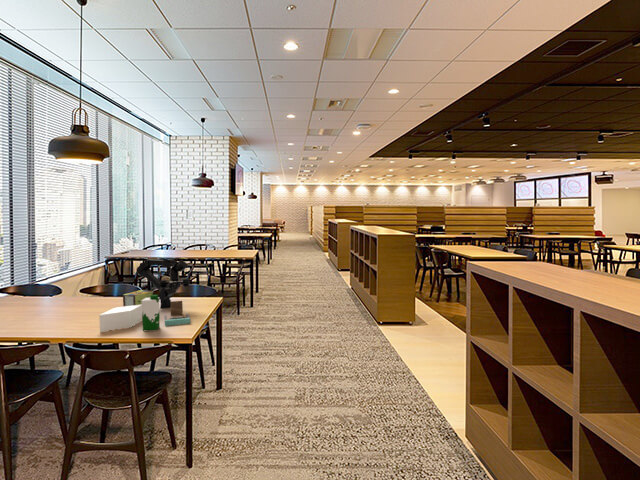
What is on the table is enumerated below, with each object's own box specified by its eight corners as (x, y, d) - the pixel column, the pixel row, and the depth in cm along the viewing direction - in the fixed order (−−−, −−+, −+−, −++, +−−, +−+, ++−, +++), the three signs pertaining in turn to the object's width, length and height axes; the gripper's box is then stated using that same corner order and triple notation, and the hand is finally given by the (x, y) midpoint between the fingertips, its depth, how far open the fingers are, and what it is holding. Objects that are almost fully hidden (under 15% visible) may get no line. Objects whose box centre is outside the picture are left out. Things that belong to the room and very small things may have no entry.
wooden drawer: (170, 318, 254) (169, 301, 253) (183, 317, 257) (183, 300, 256) (169, 324, 241) (168, 306, 240) (183, 323, 243) (182, 305, 243)
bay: (164, 319, 251) (164, 314, 250) (188, 317, 256) (188, 312, 256) (165, 325, 237) (164, 320, 237) (190, 323, 242) (190, 318, 242)
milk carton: (156, 331, 227) (155, 296, 225) (140, 331, 226) (139, 297, 224) (161, 326, 235) (160, 293, 234) (145, 326, 235) (144, 293, 233)
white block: (151, 321, 246) (151, 305, 246) (108, 334, 221) (107, 316, 220) (135, 318, 253) (135, 302, 252) (92, 330, 227) (91, 313, 227)
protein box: (153, 313, 264) (152, 290, 263) (136, 319, 250) (135, 295, 249) (141, 312, 268) (140, 289, 266) (123, 318, 253) (122, 294, 252)
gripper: (188, 280, 285) (189, 298, 275) (160, 282, 278) (160, 300, 269) (188, 271, 277) (189, 290, 267) (160, 272, 270) (160, 291, 261)
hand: (175, 293), depth 266 cm, fingers closed
